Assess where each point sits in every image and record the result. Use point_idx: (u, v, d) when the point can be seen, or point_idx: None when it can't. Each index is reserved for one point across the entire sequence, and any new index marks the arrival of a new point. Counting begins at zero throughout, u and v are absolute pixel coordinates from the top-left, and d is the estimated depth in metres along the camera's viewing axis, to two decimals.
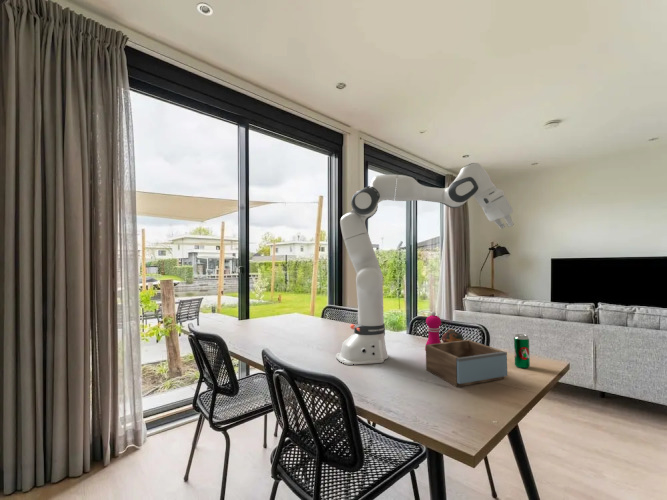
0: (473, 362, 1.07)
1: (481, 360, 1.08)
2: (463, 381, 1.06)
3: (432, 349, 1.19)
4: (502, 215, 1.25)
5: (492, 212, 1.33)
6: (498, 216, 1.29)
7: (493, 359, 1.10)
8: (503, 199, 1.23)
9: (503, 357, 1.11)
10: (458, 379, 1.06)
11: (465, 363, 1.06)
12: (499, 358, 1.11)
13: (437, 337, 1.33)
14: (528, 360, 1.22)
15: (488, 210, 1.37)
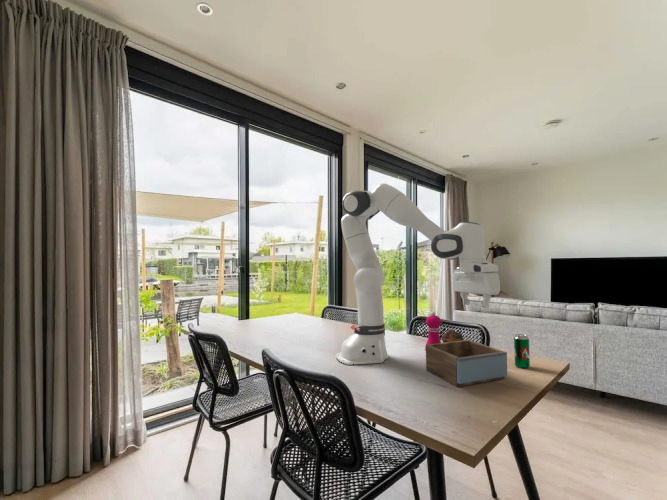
0: (473, 362, 1.07)
1: (481, 360, 1.08)
2: (463, 381, 1.06)
3: (432, 349, 1.19)
4: (487, 292, 1.07)
5: (469, 283, 1.15)
6: (477, 291, 1.11)
7: (493, 359, 1.10)
8: (496, 276, 1.07)
9: (503, 357, 1.11)
10: (458, 379, 1.06)
11: (465, 363, 1.06)
12: (499, 358, 1.11)
13: (437, 337, 1.33)
14: (528, 360, 1.22)
15: (463, 279, 1.19)
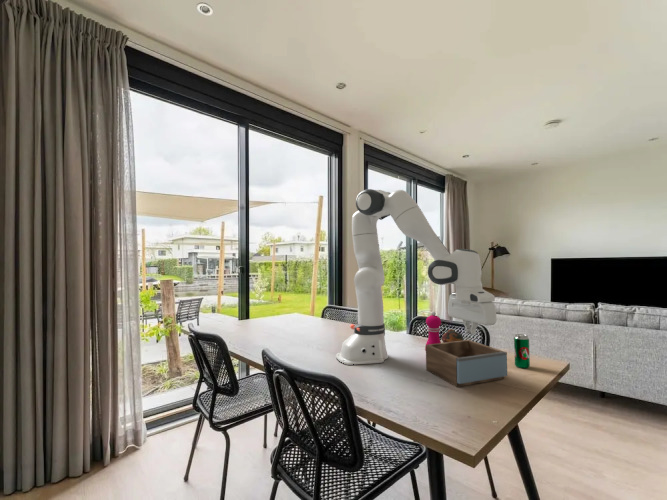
0: (473, 362, 1.07)
1: (481, 360, 1.08)
2: (463, 381, 1.06)
3: (432, 349, 1.19)
4: (483, 322, 1.06)
5: (465, 311, 1.14)
6: (473, 319, 1.11)
7: (493, 359, 1.10)
8: (493, 306, 1.06)
9: (503, 357, 1.11)
10: (458, 379, 1.06)
11: (465, 363, 1.06)
12: (499, 358, 1.11)
13: (437, 337, 1.33)
14: (528, 360, 1.22)
15: (458, 305, 1.18)
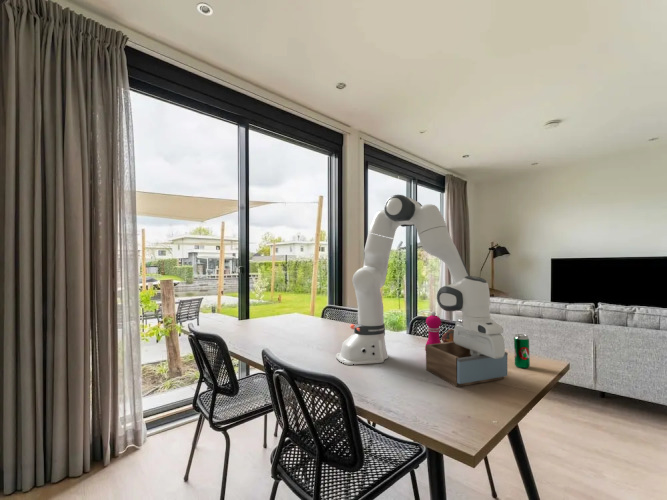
0: (473, 362, 1.07)
1: (482, 360, 1.08)
2: (463, 381, 1.06)
3: (432, 349, 1.19)
4: (491, 355, 1.03)
5: (472, 341, 1.11)
6: (480, 351, 1.08)
7: (494, 359, 1.10)
8: (501, 339, 1.03)
9: (504, 358, 1.11)
10: (458, 379, 1.06)
11: (465, 363, 1.06)
12: (500, 358, 1.11)
13: (437, 337, 1.33)
14: (528, 360, 1.22)
15: (465, 334, 1.15)
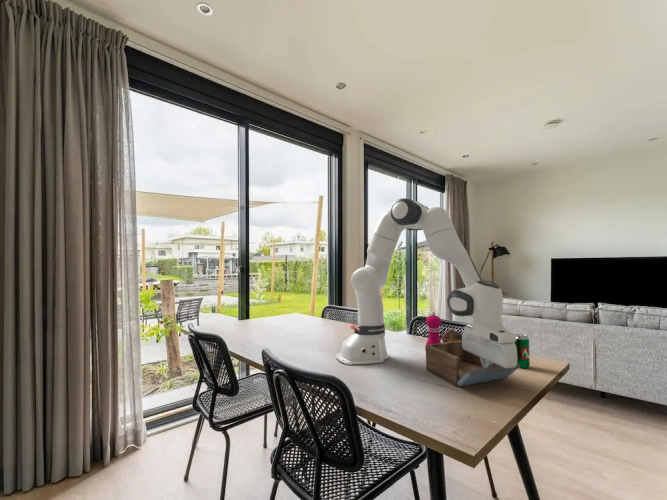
0: (482, 374, 1.03)
1: (491, 373, 1.04)
2: (463, 384, 1.06)
3: (432, 349, 1.19)
4: (503, 364, 0.99)
5: (482, 348, 1.07)
6: (491, 359, 1.04)
7: (503, 371, 1.06)
8: (514, 348, 0.99)
9: (513, 369, 1.07)
10: (460, 383, 1.05)
11: (474, 376, 1.02)
12: (509, 370, 1.07)
13: (437, 337, 1.33)
14: (528, 360, 1.22)
15: (475, 340, 1.11)
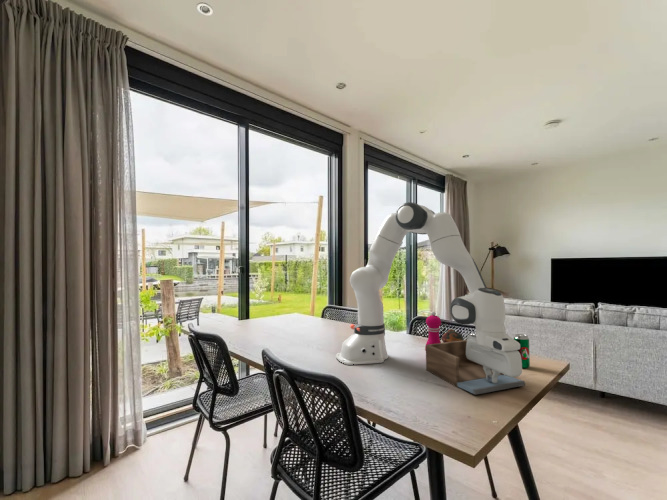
0: None
1: None
2: None
3: (432, 349, 1.19)
4: (507, 373, 0.97)
5: (486, 357, 1.05)
6: (495, 368, 1.02)
7: None
8: (518, 356, 0.97)
9: None
10: (459, 386, 1.05)
11: None
12: None
13: (437, 337, 1.33)
14: (528, 360, 1.22)
15: (478, 349, 1.09)
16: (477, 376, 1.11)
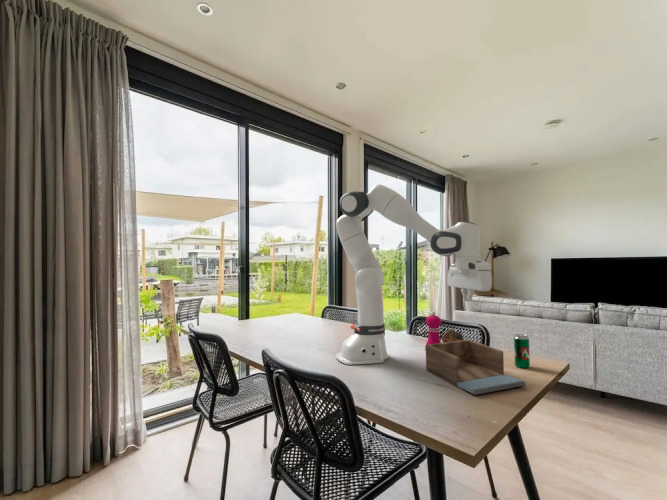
0: None
1: None
2: None
3: (432, 349, 1.19)
4: (479, 288, 1.15)
5: (463, 279, 1.23)
6: (470, 286, 1.19)
7: None
8: (489, 274, 1.15)
9: None
10: (459, 386, 1.05)
11: None
12: None
13: (437, 337, 1.33)
14: (528, 360, 1.22)
15: (457, 275, 1.27)
16: (477, 376, 1.11)
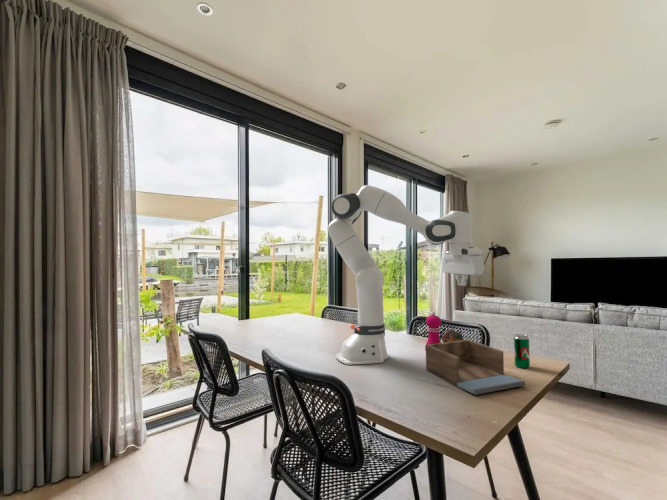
0: None
1: None
2: None
3: (432, 349, 1.19)
4: (472, 272, 1.22)
5: (457, 265, 1.29)
6: (464, 271, 1.26)
7: None
8: (481, 259, 1.22)
9: None
10: (459, 386, 1.05)
11: None
12: None
13: (437, 337, 1.33)
14: (528, 360, 1.22)
15: (451, 261, 1.33)
16: (477, 376, 1.11)
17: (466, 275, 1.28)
